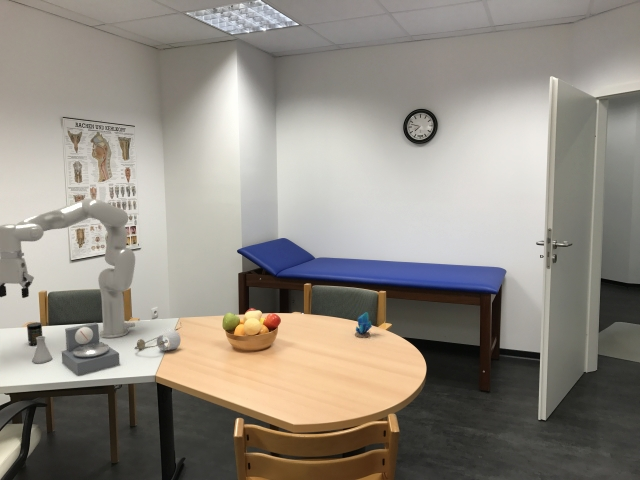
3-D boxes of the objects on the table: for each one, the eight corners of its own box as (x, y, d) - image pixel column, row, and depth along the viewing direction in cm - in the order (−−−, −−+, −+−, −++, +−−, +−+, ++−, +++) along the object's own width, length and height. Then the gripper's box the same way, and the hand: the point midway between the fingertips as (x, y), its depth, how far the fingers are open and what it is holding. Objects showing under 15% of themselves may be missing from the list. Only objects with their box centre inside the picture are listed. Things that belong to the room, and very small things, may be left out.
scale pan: (101, 343, 213) (101, 341, 213) (114, 351, 203) (114, 348, 203) (68, 351, 204) (68, 348, 204) (80, 359, 195) (80, 357, 194)
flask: (56, 358, 211) (54, 335, 210) (41, 365, 204) (39, 341, 203) (43, 356, 214) (41, 333, 212) (28, 362, 207) (26, 339, 205)
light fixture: (213, 332, 248) (166, 356, 210) (182, 336, 253) (130, 360, 215) (210, 314, 248) (162, 334, 210) (179, 318, 253) (126, 338, 215)
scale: (102, 353, 217) (100, 321, 215) (119, 364, 205) (117, 331, 203) (62, 363, 206) (59, 329, 204) (78, 376, 194) (75, 340, 192)
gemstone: (374, 335, 242) (374, 310, 240) (363, 339, 235) (363, 314, 234) (361, 331, 247) (362, 307, 245) (350, 336, 240) (350, 311, 239)
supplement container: (45, 343, 230) (44, 323, 228) (32, 346, 225) (31, 327, 224) (38, 340, 233) (37, 321, 232) (25, 344, 228) (24, 324, 227)
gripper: (37, 254, 207) (40, 295, 209) (-3, 253, 209) (0, 294, 211) (25, 257, 200) (28, 299, 202) (-17, 256, 201) (-13, 298, 204)
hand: (14, 296), depth 206 cm, fingers open, 9 cm apart
